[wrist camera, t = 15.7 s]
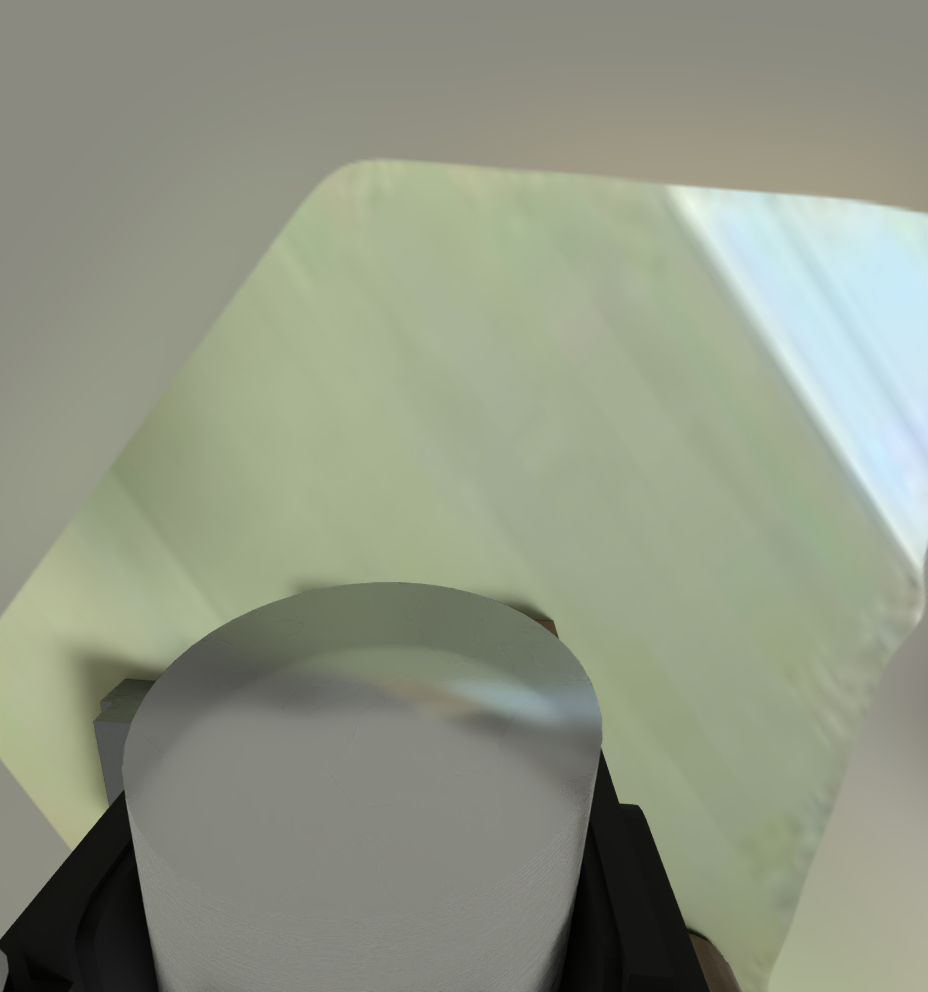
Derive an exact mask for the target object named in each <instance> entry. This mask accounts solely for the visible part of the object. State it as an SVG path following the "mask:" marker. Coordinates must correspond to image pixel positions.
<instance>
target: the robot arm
mask: <svg viewBox="0 0 928 992" xmlns="http://www.w3.org/2000/svg"><path fill="white" fill-rule="evenodd" d="M0 992H159V989H158V983H157V977H156V972H155V966H154V960H153V954H152V948H151V943H150V937H149V931H148V925H147V920H146V914H145V908H144V902H143V896H142V891H141V885H140V879H139V873H138V867H137V862H136V856H135V850H134V844H133V838H132V833H131V827H130V821H129V815H128V810H127V804H126V798H125V790H123V791H122V792H121V794H120V795H119V796H118V797H117V798H116V800H115V801H114V802H113V803H112V804H111V806H110V807H109V808H108V809H107V811H106V812H105V813H104V814H103V815H102V817H101V818H100V819H99V820H98V821H97V823H96V824H95V825H94V826H93V828H92V829H91V830H90V831H89V832H88V834H87V835H86V836H85V837H84V839H83V840H82V841H81V842H80V843H79V845H78V846H77V847H76V848H75V849H74V851H73V852H72V853H71V854H70V856H69V857H68V858H67V859H66V860H65V862H64V863H63V864H62V866H60V868H59V869H58V870H57V871H56V873H55V874H54V875H53V876H52V877H51V879H50V880H49V881H48V882H47V883H46V885H45V886H44V887H43V888H42V890H41V891H40V892H39V893H38V895H37V896H36V897H35V898H34V899H33V901H32V902H31V903H30V904H29V905H28V907H27V908H26V909H25V910H24V911H23V913H22V914H21V915H20V916H19V917H18V919H17V920H16V921H15V922H14V924H13V925H12V926H11V927H10V928H9V930H8V931H7V932H6V934H4V936H3V937H2V938H1V939H0ZM560 992H710V990H709V987H708V985H707V982H706V979H705V977H704V974H703V971H702V969H701V966H700V963H699V960H698V958H697V955H696V952H695V950H694V947H693V944H692V942H691V939H690V936H689V933H688V931H687V928H686V925H685V923H684V920H683V917H682V915H681V912H680V909H679V907H678V904H677V901H676V898H675V896H674V893H673V890H672V888H671V885H670V882H669V880H668V877H667V874H666V871H665V869H664V866H663V863H662V861H661V858H660V855H659V853H658V850H657V847H656V845H655V842H654V839H653V836H652V834H651V831H650V828H649V826H648V823H647V820H646V818H645V816H644V814H643V811H642V810H641V808H640V807H639V806H638V805H633V804H619V801H618V798H617V795H616V792H615V789H614V786H613V783H612V780H611V776H610V773H609V770H608V767H607V764H606V761H605V758H604V755H603V752H602V749H601V751H600V757H599V763H598V769H597V775H596V781H595V787H594V793H593V799H592V805H591V810H590V816H589V822H588V828H587V834H586V840H585V846H584V852H583V857H582V863H581V869H580V875H579V881H578V887H577V893H576V899H575V904H574V910H573V916H572V922H571V928H570V934H569V940H568V946H567V951H566V957H565V963H564V969H563V975H562V981H561V987H560Z"/></svg>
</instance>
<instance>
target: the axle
mask: <svg viewBox="0 0 928 992" xmlns="http://www.w3.org/2000/svg"><path fill="white" fill-rule="evenodd" d="M601 744H602V716H601V712H600V708H599V703H598V699H597V695H596V693H595V691H594V688H593V686H592V683H591V681H590V679H589V677H588V675H587V674H586V672H585V670H584V669H583V667H582V665H581V664H580V662H579V661H578V660H577V658H576V657H575V656H574V655H573V654H572V652H571V651H570V650H569V649H568V648H567V647H566V646H565V645H564V644H563V643H562V642H561V641H560V640H559V639H558V638H557V637H556V636H555V635H554V634H552V633H551V632H550V631H548V630H547V629H546V628H544V627H543V626H542V625H541V624H539V623H538V622H536V621H534V620H533V619H531V618H529V617H528V616H526V615H525V614H523V613H521V612H519V611H517V610H515V609H513V608H511V607H509V606H507V605H504V604H502V603H499V602H497V601H494V600H492V599H489V598H486V597H483V596H480V595H477V594H473V593H470V592H466V591H462V590H457V589H453V588H448V587H442V586H436V585H428V584H419V583H403V582H374V583H359V584H350V585H342V586H334V587H329V588H324V589H319V590H314V591H310V592H306V593H302V594H298V595H294V596H291V597H288V598H284V599H281V600H278V601H275V602H272V603H270V604H267V605H265V606H262V607H260V608H257V609H255V610H252V611H250V612H248V613H246V614H244V615H242V616H240V617H238V618H235V619H233V620H231V621H230V622H228V623H226V624H225V625H223V626H221V627H219V628H218V629H216V630H214V631H213V632H211V633H210V634H208V635H207V636H205V637H204V638H202V639H201V640H200V641H198V642H197V643H195V644H194V645H193V646H191V647H190V648H189V649H188V650H187V651H186V652H184V653H183V654H182V655H181V656H180V657H179V658H177V659H176V660H175V661H174V662H173V663H172V664H171V665H170V666H169V667H168V668H167V670H166V671H165V672H164V673H163V674H162V675H161V676H160V677H159V678H158V679H157V681H156V682H155V683H154V685H153V686H152V688H151V689H150V690H149V692H148V693H147V695H146V696H145V697H144V699H143V701H142V703H141V705H140V707H139V708H138V710H137V712H136V714H135V716H134V718H133V720H132V723H131V726H130V729H129V732H128V736H127V739H126V742H125V746H124V756H123V766H122V774H123V782H124V790H125V798H126V804H127V810H128V815H129V821H130V827H131V833H132V838H133V844H134V850H135V856H136V862H137V867H138V873H139V879H140V885H141V891H142V896H143V902H144V908H145V914H146V920H147V925H148V931H149V937H150V943H151V948H152V954H153V960H154V966H155V972H156V977H157V983H158V989H159V992H560V987H561V981H562V975H563V969H564V963H565V957H566V951H567V946H568V940H569V934H570V928H571V922H572V916H573V910H574V904H575V899H576V893H577V887H578V881H579V875H580V869H581V863H582V857H583V852H584V846H585V840H586V834H587V828H588V822H589V816H590V810H591V805H592V799H593V793H594V787H595V781H596V775H597V769H598V763H599V757H600V751H601Z"/></svg>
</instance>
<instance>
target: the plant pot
mask: <svg viewBox="0 0 928 992" xmlns="http://www.w3.org/2000/svg"><path fill="white" fill-rule="evenodd" d="M689 936H690V939H691V942H692V944H693V947H694V950H695V952H696V955H697V958H698V960H699V963H700V966H701V969H702V971H703V974H704V977H705V979H706V982H707V985H708V987H709V990H710V992H742V990H741V988H740V986H739V984H738V982H737V980H736V978H735V976H734V974H733V971H732V969H731V967H730V965H729V964H728V962H726V961H725V960H724V958H723V957H722V956H721V955H720V953H719V952H718V950H717V949H716V948H715V947H714V946H713V945H712V944H711V943H709V942H708V941H706V940H704V939H702V938H700V937H698V936H696V935H693V934H690V933H689Z"/></svg>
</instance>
